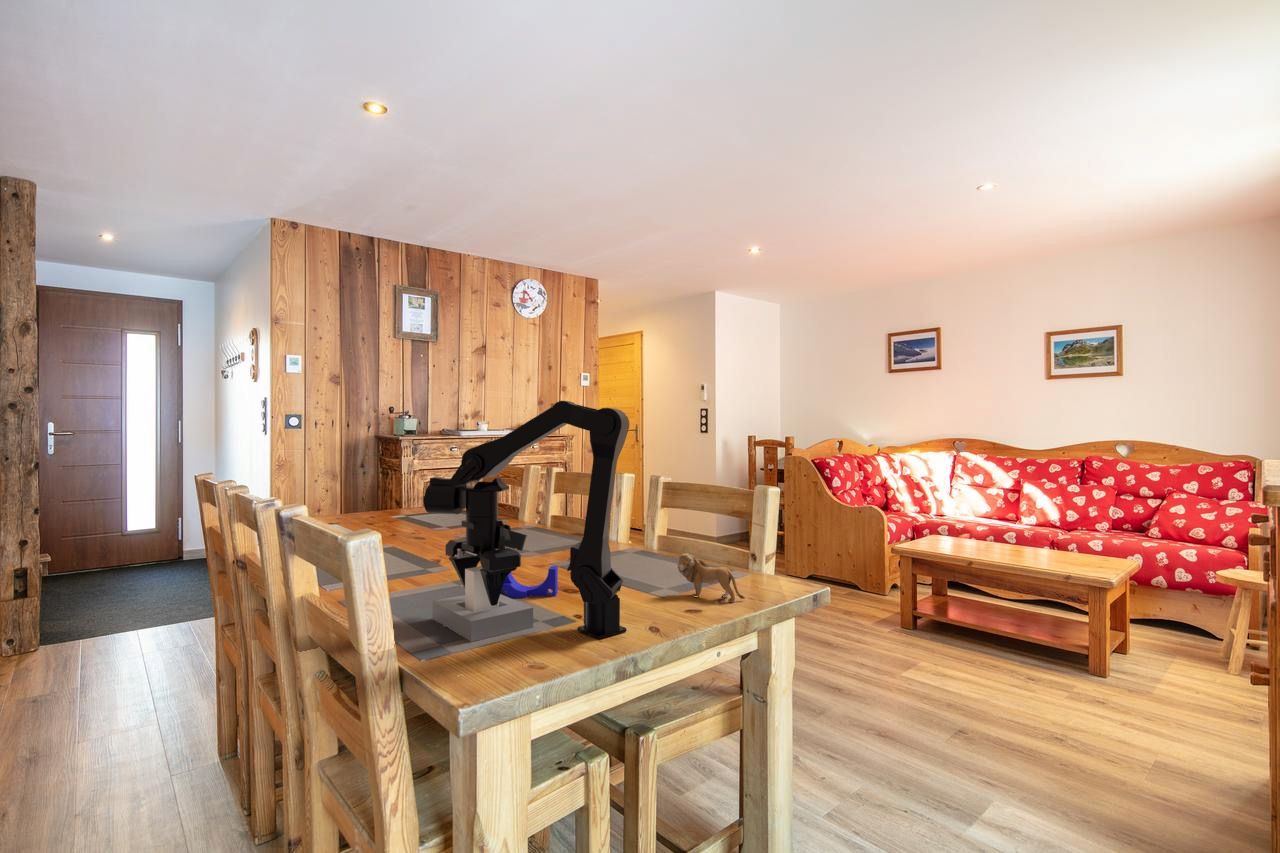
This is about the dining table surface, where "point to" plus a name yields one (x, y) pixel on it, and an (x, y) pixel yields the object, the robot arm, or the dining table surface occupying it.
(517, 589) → the blue pipe saddle bracket
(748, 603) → the dining table surface
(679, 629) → the dining table surface
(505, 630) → the socket block
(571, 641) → the dining table surface
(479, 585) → the plug
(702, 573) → the lion figurine
